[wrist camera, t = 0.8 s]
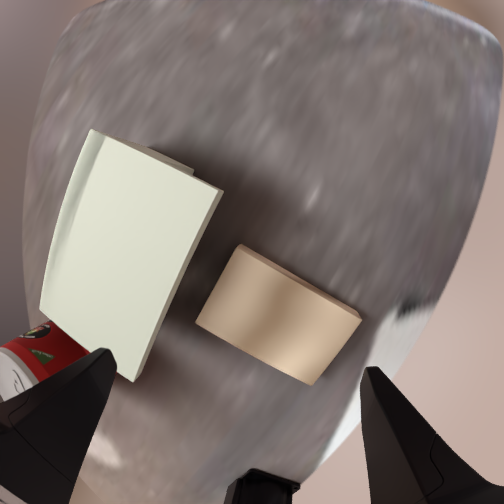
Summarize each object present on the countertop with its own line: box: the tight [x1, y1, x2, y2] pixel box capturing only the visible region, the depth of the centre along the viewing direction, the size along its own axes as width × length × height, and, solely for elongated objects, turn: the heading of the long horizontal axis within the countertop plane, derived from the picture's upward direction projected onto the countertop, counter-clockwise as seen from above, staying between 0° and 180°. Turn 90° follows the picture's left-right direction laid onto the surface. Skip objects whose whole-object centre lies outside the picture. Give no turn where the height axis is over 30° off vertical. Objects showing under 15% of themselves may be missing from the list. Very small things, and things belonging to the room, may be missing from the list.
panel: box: [195, 244, 362, 386], centre depth 21 cm, size 10×6×2 cm, turn 61°
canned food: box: [0, 320, 117, 401], centre depth 19 cm, size 8×8×11 cm
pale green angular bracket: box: [39, 129, 224, 382], centre depth 19 cm, size 9×13×7 cm
